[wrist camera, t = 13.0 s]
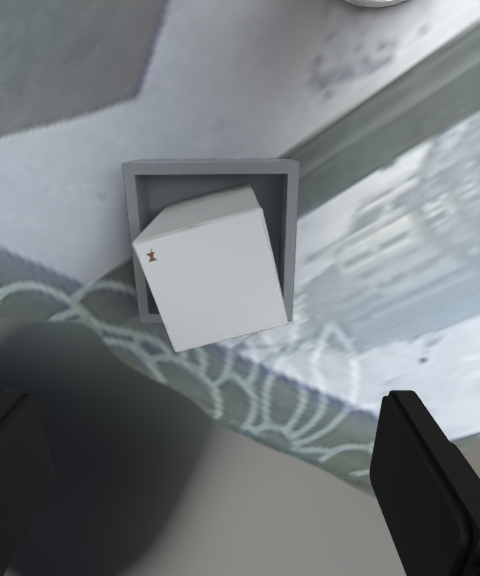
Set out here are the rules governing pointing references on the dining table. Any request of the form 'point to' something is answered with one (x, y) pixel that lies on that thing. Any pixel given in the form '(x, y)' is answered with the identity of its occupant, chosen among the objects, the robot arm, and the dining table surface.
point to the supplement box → (212, 268)
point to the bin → (203, 179)
